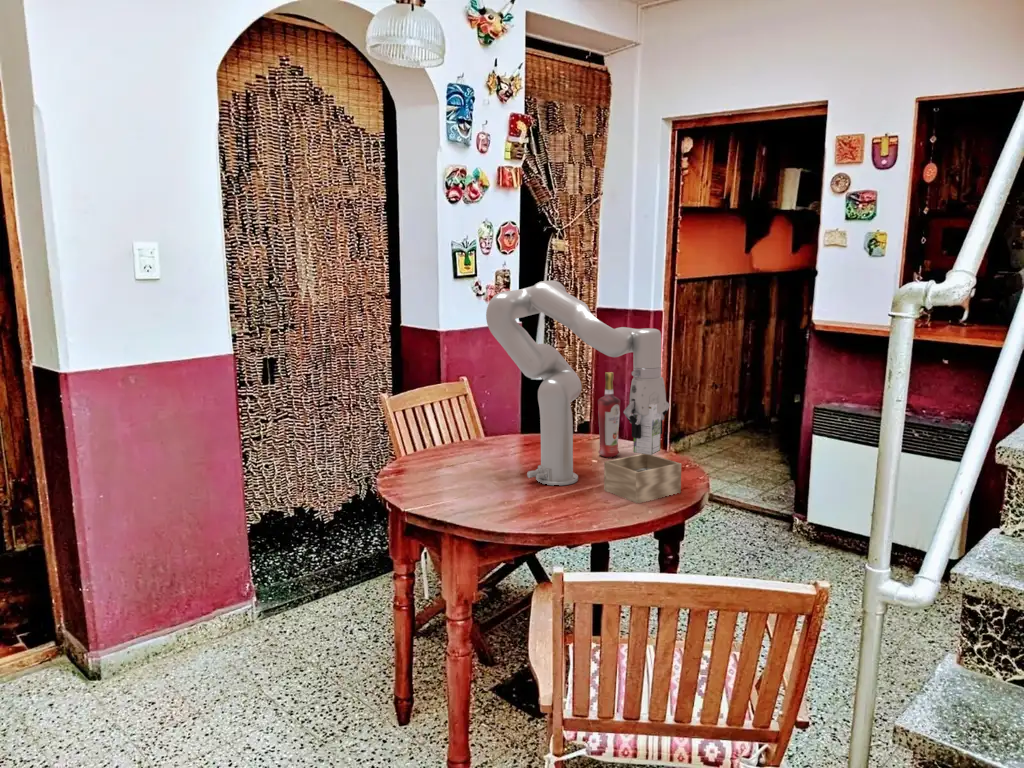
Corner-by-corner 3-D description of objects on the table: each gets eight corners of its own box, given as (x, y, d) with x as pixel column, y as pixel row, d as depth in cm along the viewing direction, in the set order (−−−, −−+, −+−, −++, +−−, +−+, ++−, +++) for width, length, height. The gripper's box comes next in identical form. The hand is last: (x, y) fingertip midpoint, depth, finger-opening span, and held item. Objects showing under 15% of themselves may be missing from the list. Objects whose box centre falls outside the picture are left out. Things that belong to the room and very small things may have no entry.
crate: (637, 503, 200) (638, 473, 199) (604, 490, 212) (604, 461, 210) (680, 492, 209) (681, 463, 207) (646, 480, 220) (646, 452, 219)
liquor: (610, 451, 253) (610, 370, 248) (624, 456, 247) (625, 373, 242) (593, 455, 249) (593, 372, 245) (607, 459, 243) (607, 375, 239)
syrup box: (642, 448, 214) (642, 398, 212) (661, 451, 210) (661, 400, 208) (633, 452, 209) (633, 402, 207) (652, 455, 206) (652, 404, 204)
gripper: (632, 378, 199) (632, 442, 202) (679, 371, 208) (679, 433, 211) (614, 375, 205) (614, 437, 208) (660, 368, 214) (660, 428, 217)
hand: (647, 435), depth 209 cm, fingers closed on syrup box, 7 cm apart
